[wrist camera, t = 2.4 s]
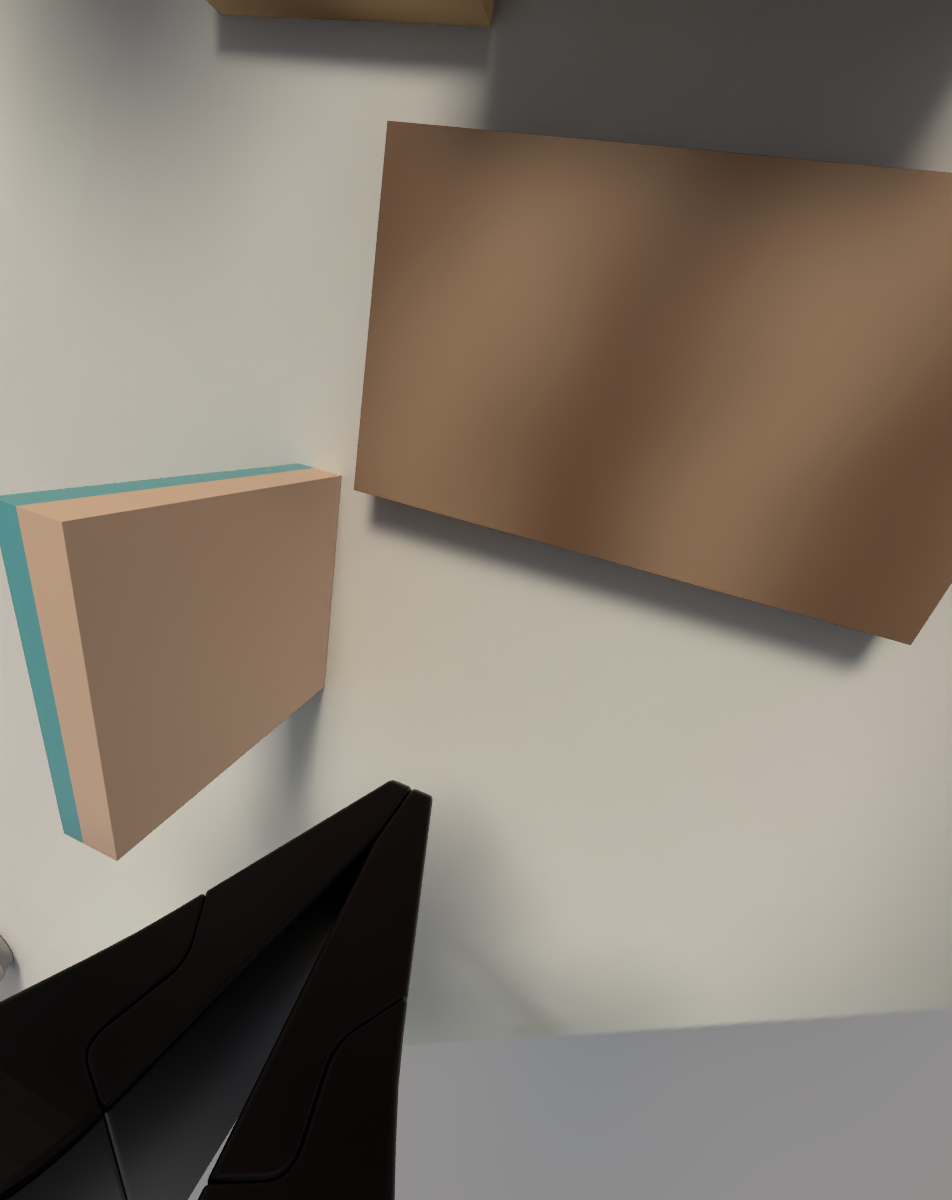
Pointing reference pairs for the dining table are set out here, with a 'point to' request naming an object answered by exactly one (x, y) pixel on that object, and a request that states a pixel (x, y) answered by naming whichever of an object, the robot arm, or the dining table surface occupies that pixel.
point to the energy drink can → (4, 957)
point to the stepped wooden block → (366, 10)
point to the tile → (167, 631)
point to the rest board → (671, 363)
